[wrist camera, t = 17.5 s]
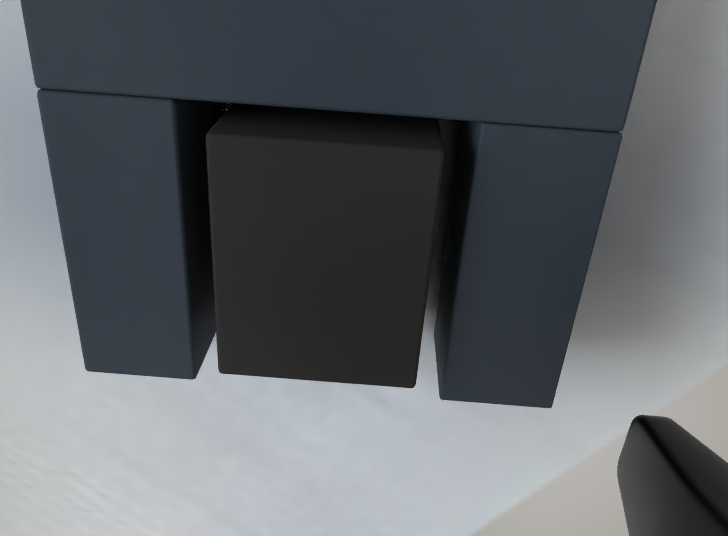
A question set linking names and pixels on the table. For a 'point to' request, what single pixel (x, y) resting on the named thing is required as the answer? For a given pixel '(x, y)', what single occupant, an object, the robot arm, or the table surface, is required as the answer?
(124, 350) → the slotted block
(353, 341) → the black rectangular block
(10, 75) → the table surface
